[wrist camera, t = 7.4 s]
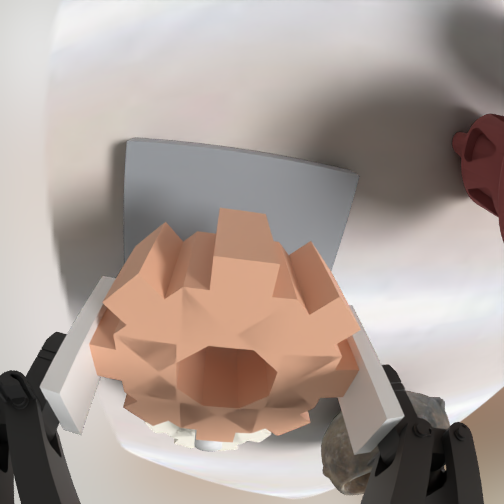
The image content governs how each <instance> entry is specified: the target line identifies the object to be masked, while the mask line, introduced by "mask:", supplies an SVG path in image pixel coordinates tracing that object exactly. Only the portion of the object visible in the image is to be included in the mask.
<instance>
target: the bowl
mask: <svg viewBox="0 0 504 504" xmlns="http://www.w3.org/2000/svg"><path fill="white" fill-rule="evenodd" d="M406 393H407V395H408V397H409V399H410V401H411V403H412V405H413V408H414V410H415V412H416V414H417V416H418V418H423V419H425V420H427V421H428V422H429V423H430V424H431V426H432V427H433V428H441V429H448V428H449V427H450V424H449V420H448V417H447V415H446V412H445V401H444V400H443V399H441V398H439V397H428V396H426V395H423V394H420V393H414V392H411V391H406ZM378 452H379V449H378V446H376V447H375V448H374V449H373V450H372V451H371V452H369V453H362V454H356V455H354V452H353V449H352V445H351V442H350V438H349V435H348V431H347V428H346V424H345V421H344V417H343V414H342V411H341V412H340V413H339V414H338V415H337V416H336V417H335V418H334V420H333V421H332V423H331V424H330V426H329V427H328V429H327V431H326V433H325V435H324V437H323V440H322V444H321V456H322V463H323V474H324V475H325V476H326V477H328V478H330V480H331V482H332V483H333V485H334V486H335V487H336V488H337V489H338V490H339V491H340V492H341V493H343V494H344V495H359V494H364V492H365V489H366V486H367V483H368V480H369V477H370V474H371V470H372V466H373V464H374V462H373V463H372V464H371V465H370V466H368V465H367V464H368V462H369V461H370V460H371V459H372V458H373V457H374V456H375V455H376V454H377V453H378Z"/></svg>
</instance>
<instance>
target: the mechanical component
mask: <svg viewBox="0 0 504 504" xmlns="http://www.w3.org/2000/svg"><path fill="white" fill-rule="evenodd" d="M452 146H453V149H454V151H455V152H456V153H457V154H458V155H459V156H460V157H461V172H462V179H463V184H464V186H465V189H466V192H467V193H468V195H469V197H470V198H471V199H472V200H473V202H475V203H476V204H477V205H479V206H481V207H482V208H484V209H486V210H487V211H489V212H491V213H492V214H494V215H495V216H497V217H499V226H500V231H501V236H502V239H503V242H504V116H501V115H496V114H486V115H484V116H482V117H480V118H479V119H477V120H476V121H475V122H474V124H473V125H472V126H471V128H470V130H469V131H468V133H463V132H457V133H456V134H455V135H454V137H453V140H452Z"/></svg>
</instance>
